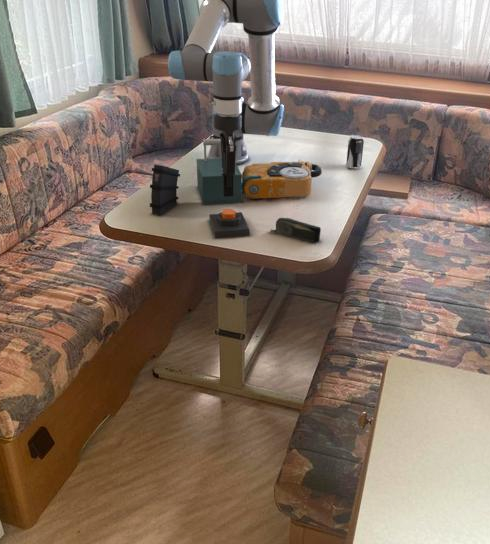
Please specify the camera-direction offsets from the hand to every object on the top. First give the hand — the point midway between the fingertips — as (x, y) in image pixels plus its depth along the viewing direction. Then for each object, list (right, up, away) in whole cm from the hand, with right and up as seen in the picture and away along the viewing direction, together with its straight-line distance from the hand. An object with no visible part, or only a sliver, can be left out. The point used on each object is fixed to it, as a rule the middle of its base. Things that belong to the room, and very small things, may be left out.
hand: (228, 195), depth 166 cm
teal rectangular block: (-6, +4, +27) cm, 28 cm away
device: (+16, +7, +34) cm, 38 cm away
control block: (0, -9, +6) cm, 11 cm away
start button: (0, -6, +4) cm, 7 cm away
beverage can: (+43, +18, +56) cm, 73 cm away
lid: (-6, +12, +23) cm, 27 cm away
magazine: (-21, -2, +17) cm, 27 cm away
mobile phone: (+19, -12, +2) cm, 23 cm away
